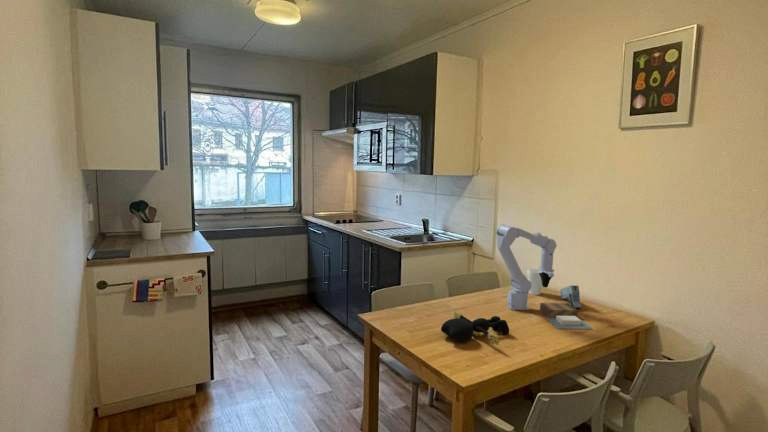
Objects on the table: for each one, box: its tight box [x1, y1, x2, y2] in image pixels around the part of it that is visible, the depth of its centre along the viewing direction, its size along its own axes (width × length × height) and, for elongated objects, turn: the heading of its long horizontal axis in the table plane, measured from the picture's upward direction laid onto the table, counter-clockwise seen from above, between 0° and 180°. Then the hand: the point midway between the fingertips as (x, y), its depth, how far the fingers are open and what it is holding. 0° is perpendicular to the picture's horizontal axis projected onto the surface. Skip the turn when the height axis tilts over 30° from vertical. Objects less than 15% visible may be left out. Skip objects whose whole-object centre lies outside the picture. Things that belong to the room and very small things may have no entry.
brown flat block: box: [539, 302, 579, 318], centre depth 210 cm, size 14×10×4 cm
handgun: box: [560, 284, 583, 310], centre depth 226 cm, size 4×18×12 cm, turn 179°
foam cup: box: [526, 268, 543, 296], centre depth 243 cm, size 10×9×13 cm
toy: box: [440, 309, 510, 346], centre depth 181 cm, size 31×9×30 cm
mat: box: [545, 317, 594, 330], centre depth 198 cm, size 16×13×1 cm
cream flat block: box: [556, 316, 582, 325], centre depth 199 cm, size 9×6×2 cm, turn 91°
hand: (545, 286), depth 221 cm, fingers closed
